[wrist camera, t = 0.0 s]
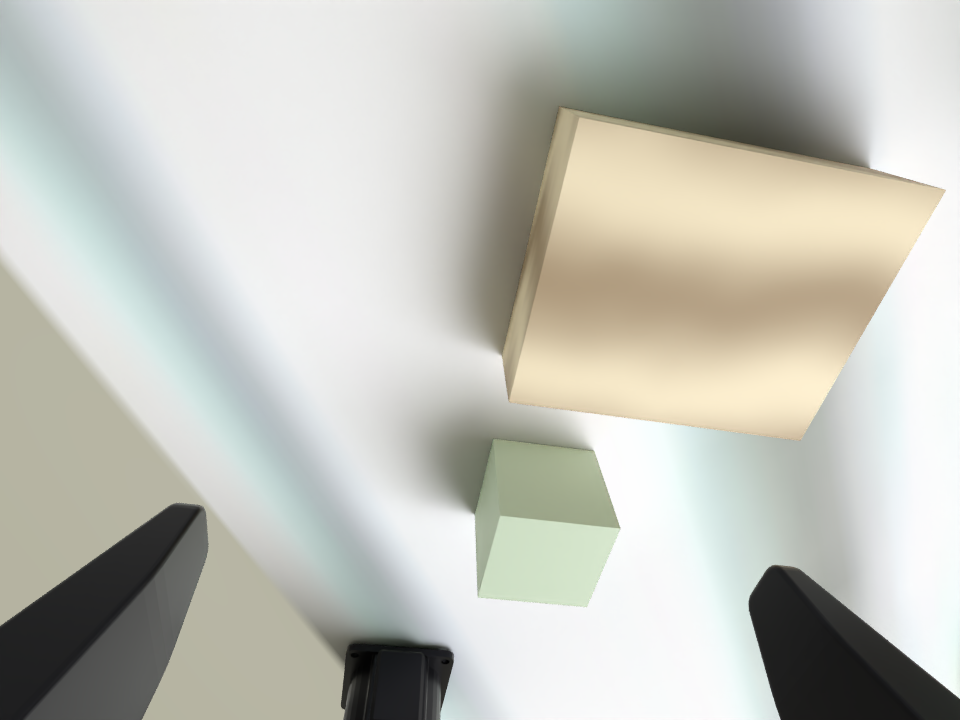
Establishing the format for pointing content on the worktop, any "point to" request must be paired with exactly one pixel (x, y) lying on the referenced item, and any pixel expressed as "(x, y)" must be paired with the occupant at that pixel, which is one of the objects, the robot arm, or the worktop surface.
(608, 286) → the birch block
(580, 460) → the sage cube
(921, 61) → the worktop surface
